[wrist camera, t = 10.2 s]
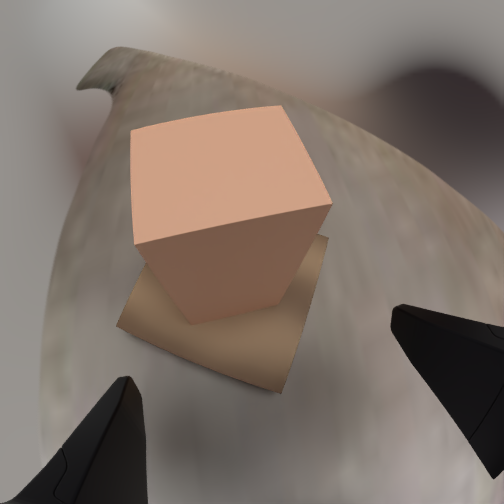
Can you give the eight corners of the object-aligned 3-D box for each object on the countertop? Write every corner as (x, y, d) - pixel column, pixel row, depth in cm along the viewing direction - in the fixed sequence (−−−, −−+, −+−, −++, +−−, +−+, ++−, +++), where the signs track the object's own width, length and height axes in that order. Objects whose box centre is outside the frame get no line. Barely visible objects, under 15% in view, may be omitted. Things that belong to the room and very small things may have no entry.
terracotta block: (278, 304, 20) (332, 203, 9) (191, 325, 19) (134, 244, 8) (258, 240, 21) (281, 105, 11) (178, 258, 21) (131, 130, 10)
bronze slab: (275, 391, 20) (281, 393, 17) (129, 333, 21) (116, 325, 18) (318, 254, 25) (328, 237, 22) (190, 210, 26) (186, 190, 23)
